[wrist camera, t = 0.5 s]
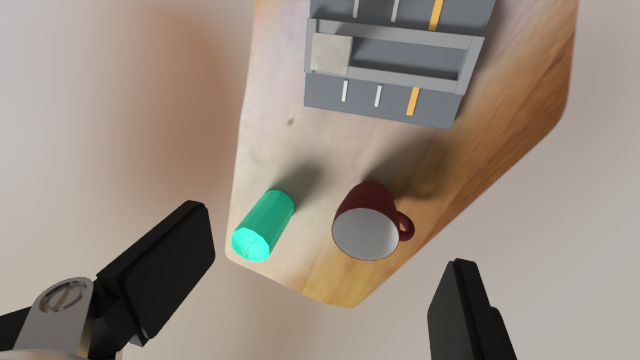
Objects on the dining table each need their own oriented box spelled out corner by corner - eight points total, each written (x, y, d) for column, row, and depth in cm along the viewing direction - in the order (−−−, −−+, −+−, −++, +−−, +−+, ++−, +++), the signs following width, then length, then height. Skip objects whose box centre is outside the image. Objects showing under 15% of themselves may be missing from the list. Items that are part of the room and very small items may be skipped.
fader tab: (327, 32, 30) (313, 32, 25) (359, 35, 29) (351, 37, 24) (324, 63, 32) (310, 69, 27) (354, 67, 31) (346, 74, 26)
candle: (298, 197, 45) (269, 247, 34) (290, 224, 48) (261, 277, 38) (264, 184, 45) (226, 229, 35) (258, 211, 48) (221, 260, 38)
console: (317, -27, 30) (308, -34, 27) (494, -13, 27) (507, -18, 24) (308, 102, 37) (300, 108, 34) (447, 124, 34) (452, 134, 31)
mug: (425, 183, 38) (433, 227, 30) (404, 226, 42) (405, 276, 34) (352, 161, 39) (340, 198, 31) (339, 205, 43) (324, 248, 35)
